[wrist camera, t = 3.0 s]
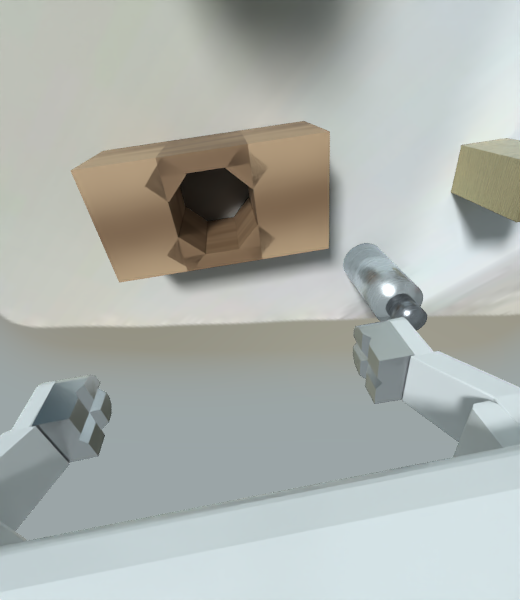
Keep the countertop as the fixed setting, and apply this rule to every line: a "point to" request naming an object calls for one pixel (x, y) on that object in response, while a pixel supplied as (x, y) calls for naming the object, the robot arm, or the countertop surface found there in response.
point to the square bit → (490, 176)
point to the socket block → (193, 228)
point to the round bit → (384, 285)
